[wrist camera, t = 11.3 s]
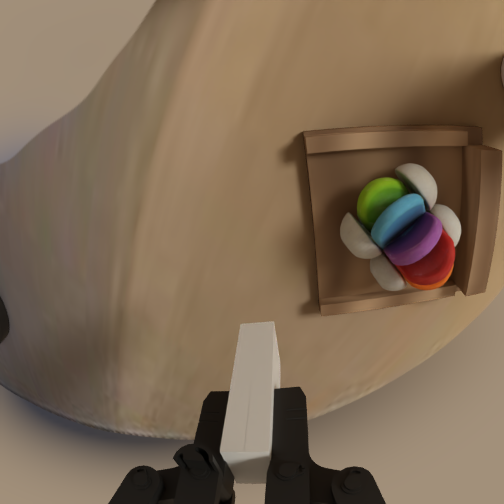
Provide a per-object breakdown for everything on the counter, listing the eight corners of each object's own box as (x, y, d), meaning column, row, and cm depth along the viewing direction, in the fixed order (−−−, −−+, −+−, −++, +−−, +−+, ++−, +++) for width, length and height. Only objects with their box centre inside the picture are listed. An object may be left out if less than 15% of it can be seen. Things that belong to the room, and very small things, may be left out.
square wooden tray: (319, 307, 29) (323, 333, 26) (302, 131, 23) (307, 135, 19) (465, 285, 27) (481, 305, 24) (477, 126, 21) (502, 132, 17)
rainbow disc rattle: (386, 287, 27) (412, 338, 21) (320, 212, 25) (337, 252, 18) (455, 229, 24) (498, 267, 18) (399, 143, 22) (443, 159, 15)
